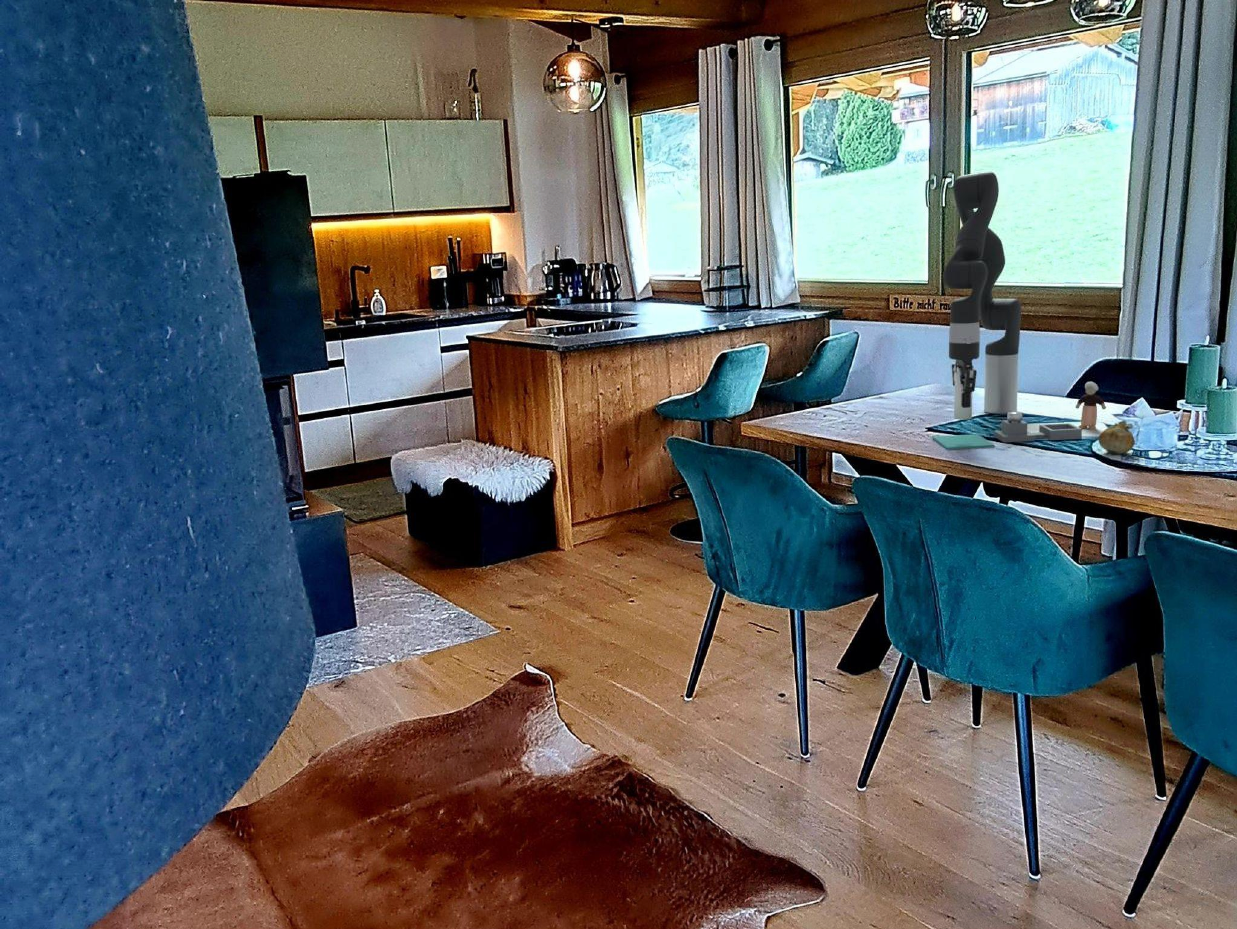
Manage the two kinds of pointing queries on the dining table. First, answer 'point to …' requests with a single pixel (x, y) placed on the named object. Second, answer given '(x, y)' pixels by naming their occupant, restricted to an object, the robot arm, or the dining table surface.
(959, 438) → the mat
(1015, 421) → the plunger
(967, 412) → the cylinder
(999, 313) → the robot arm
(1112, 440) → the onion
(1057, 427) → the dock
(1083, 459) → the dining table surface
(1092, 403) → the grandmother figurine
